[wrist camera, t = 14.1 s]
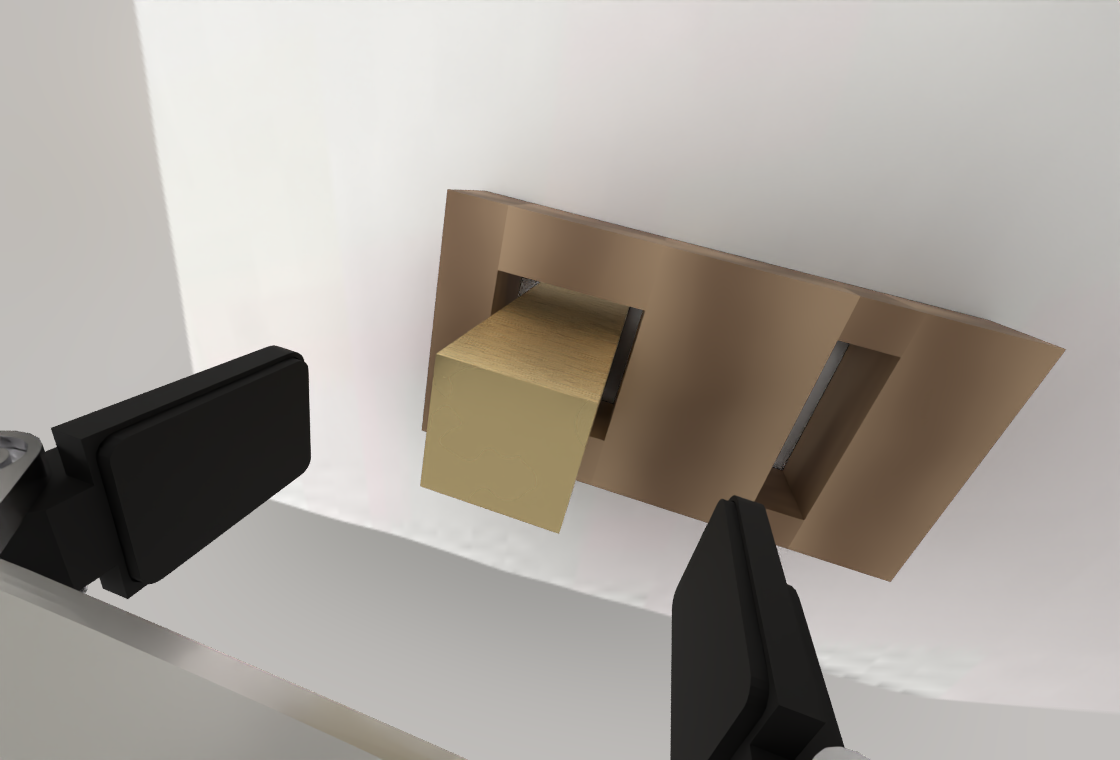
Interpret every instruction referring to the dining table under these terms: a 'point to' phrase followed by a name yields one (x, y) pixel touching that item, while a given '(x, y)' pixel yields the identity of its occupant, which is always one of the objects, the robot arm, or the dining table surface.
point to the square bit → (521, 403)
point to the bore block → (756, 378)
